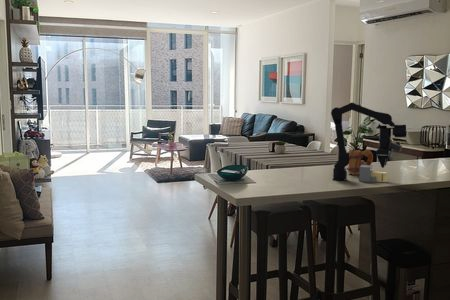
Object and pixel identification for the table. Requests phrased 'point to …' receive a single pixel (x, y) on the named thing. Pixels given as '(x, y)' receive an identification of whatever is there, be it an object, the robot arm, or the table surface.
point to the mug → (358, 160)
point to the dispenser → (366, 173)
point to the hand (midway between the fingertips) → (383, 166)
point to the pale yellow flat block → (380, 176)
